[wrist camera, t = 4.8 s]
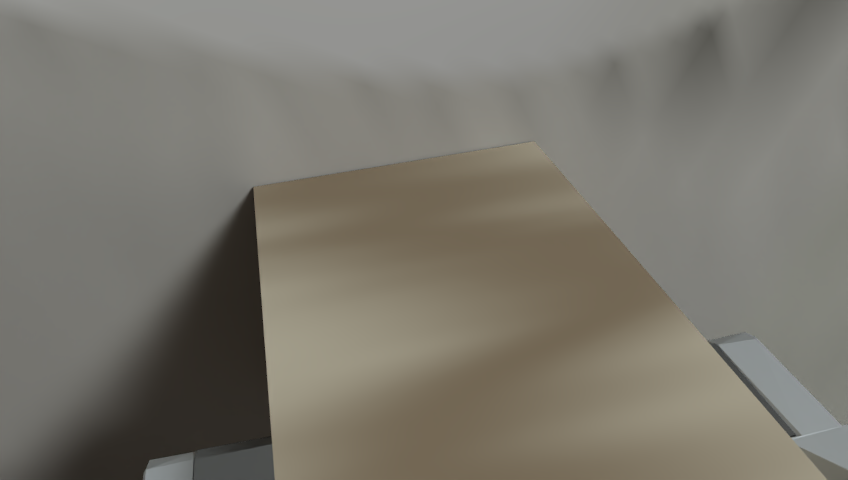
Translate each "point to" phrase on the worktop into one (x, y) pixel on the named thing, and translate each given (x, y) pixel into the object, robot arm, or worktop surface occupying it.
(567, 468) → the maple block
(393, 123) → the worktop surface
